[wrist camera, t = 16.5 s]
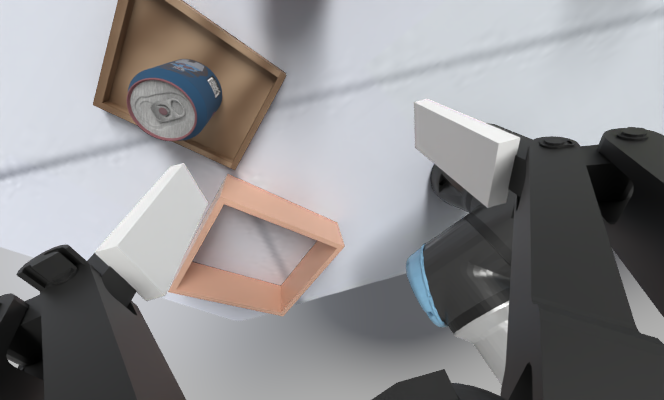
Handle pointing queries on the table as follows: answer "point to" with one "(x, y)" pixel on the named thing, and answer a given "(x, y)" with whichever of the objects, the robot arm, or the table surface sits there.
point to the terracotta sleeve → (249, 290)
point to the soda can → (174, 99)
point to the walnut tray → (196, 44)
